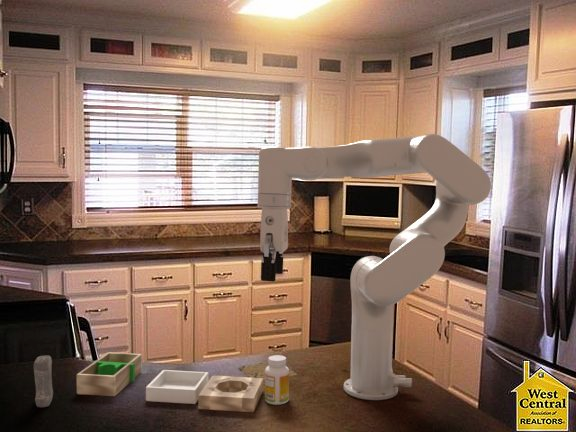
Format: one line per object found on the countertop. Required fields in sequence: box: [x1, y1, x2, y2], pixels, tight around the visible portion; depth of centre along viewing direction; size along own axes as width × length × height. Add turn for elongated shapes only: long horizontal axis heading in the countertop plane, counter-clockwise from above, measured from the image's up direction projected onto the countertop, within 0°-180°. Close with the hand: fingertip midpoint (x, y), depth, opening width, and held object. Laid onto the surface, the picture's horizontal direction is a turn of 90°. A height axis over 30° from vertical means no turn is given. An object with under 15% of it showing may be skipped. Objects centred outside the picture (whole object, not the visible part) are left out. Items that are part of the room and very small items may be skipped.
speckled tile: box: [237, 362, 299, 382], centre depth 143 cm, size 12×12×1 cm
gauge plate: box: [197, 375, 264, 413], centre depth 124 cm, size 12×12×3 cm
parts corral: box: [76, 351, 143, 397], centre depth 134 cm, size 9×16×4 cm, turn 173°
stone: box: [33, 354, 54, 408], centre depth 121 cm, size 3×6×10 cm, turn 13°
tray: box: [145, 369, 210, 405], centre depth 128 cm, size 11×11×3 cm
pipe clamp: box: [91, 360, 136, 383], centre depth 134 cm, size 10×4×4 cm, turn 81°
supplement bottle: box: [264, 354, 290, 406], centre depth 124 cm, size 5×5×10 cm
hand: (272, 277), depth 126 cm, fingers open, 9 cm apart
